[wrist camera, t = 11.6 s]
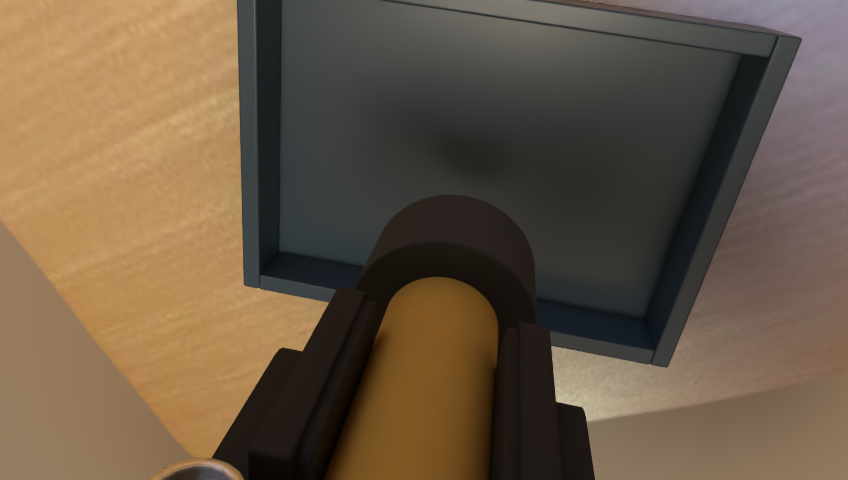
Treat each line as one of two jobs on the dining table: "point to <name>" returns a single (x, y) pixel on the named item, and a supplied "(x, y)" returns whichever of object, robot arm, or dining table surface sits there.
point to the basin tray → (506, 145)
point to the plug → (435, 341)
